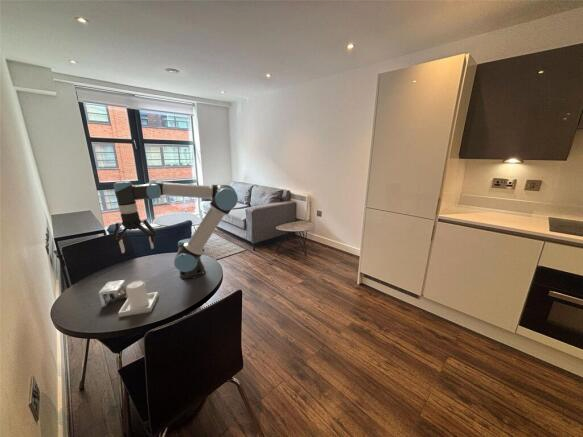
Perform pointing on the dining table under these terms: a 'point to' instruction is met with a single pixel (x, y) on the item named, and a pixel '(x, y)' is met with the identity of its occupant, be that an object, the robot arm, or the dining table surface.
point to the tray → (128, 311)
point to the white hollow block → (112, 292)
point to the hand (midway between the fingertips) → (138, 250)
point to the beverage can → (137, 294)
